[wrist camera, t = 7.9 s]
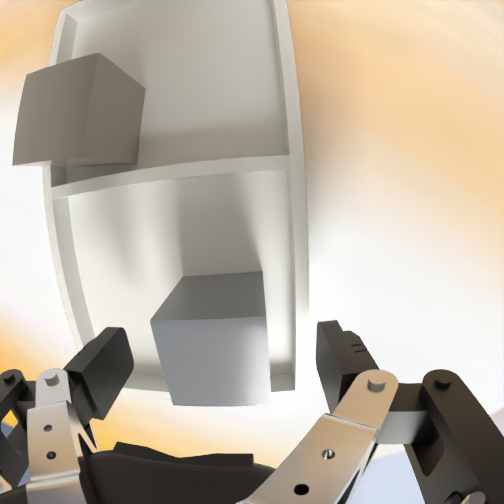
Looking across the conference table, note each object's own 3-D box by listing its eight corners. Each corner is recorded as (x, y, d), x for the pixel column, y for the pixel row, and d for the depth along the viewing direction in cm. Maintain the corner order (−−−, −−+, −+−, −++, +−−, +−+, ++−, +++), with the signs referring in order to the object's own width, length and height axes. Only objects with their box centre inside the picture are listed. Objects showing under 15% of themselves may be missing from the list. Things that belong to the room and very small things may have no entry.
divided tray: (276, -21, 11) (278, -40, 9) (301, 375, 16) (306, 396, 14) (75, 21, 11) (60, 10, 9) (105, 373, 16) (93, 390, 14)
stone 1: (145, 88, 12) (99, 52, 7) (137, 164, 13) (82, 157, 8) (82, 97, 12) (26, 75, 7) (74, 166, 13) (12, 165, 8)
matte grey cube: (262, 270, 14) (265, 316, 9) (267, 342, 15) (271, 404, 10) (182, 276, 14) (149, 320, 9) (194, 344, 15) (173, 405, 10)
